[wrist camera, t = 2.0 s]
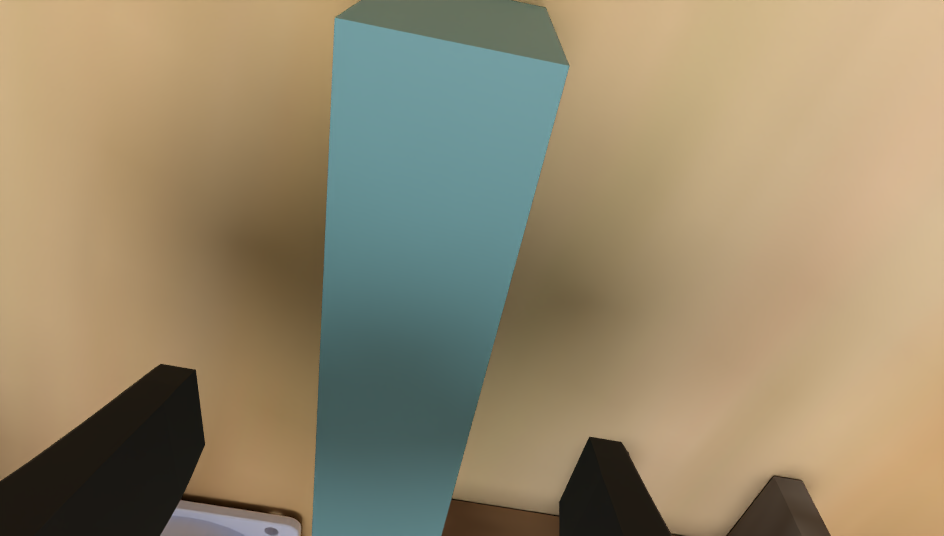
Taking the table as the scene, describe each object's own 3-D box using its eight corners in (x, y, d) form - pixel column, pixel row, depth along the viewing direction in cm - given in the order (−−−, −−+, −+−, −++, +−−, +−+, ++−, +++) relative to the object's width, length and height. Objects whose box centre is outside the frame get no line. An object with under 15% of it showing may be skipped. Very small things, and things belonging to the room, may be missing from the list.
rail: (349, 445, 19) (305, 597, 15) (393, -26, 11) (327, 15, 7) (441, 460, 19) (423, 614, 15) (549, 7, 11) (577, 67, 7)
